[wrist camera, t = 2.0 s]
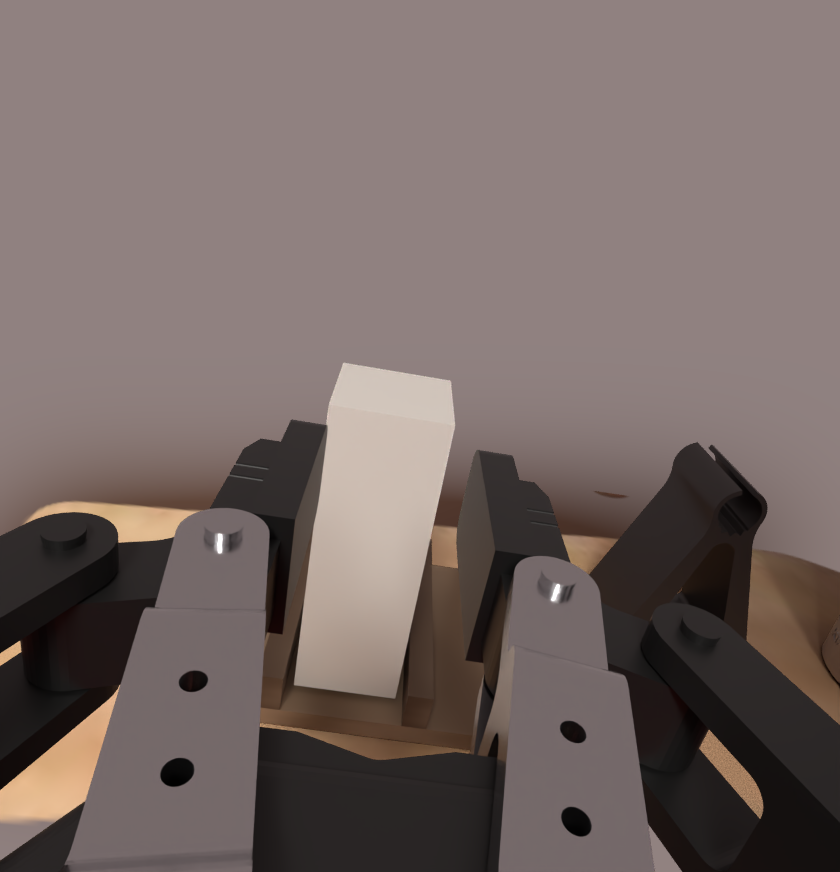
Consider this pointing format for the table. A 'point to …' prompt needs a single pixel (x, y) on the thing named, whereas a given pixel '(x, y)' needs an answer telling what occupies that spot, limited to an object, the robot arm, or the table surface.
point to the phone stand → (688, 544)
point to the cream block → (372, 527)
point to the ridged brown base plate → (418, 685)
